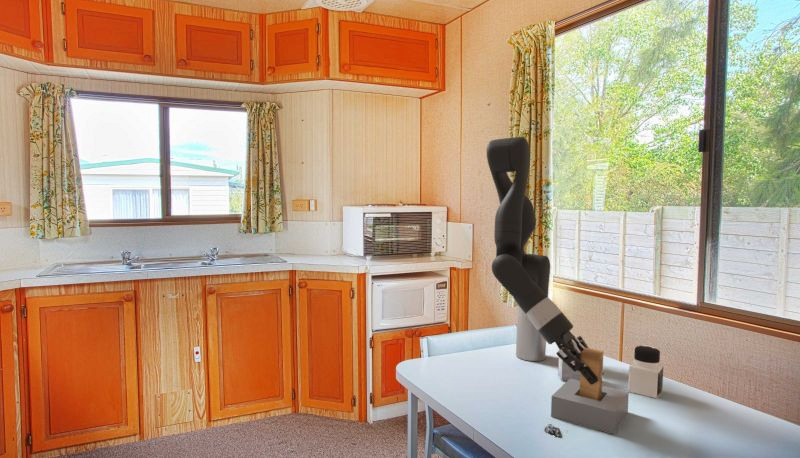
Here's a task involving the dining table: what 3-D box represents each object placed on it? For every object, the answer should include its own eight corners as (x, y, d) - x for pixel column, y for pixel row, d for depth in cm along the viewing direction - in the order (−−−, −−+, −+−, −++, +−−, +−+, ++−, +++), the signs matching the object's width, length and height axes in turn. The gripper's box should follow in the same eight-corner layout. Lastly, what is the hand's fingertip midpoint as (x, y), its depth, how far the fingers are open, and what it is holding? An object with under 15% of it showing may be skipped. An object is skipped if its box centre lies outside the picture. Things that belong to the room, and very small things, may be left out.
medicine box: (585, 376, 141) (587, 347, 140) (590, 382, 136) (591, 352, 136) (557, 375, 142) (558, 346, 141) (561, 381, 137) (562, 351, 137)
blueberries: (558, 425, 112) (558, 417, 112) (580, 440, 104) (580, 431, 104) (532, 429, 110) (532, 421, 110) (552, 444, 102) (552, 435, 102)
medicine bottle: (657, 399, 126) (659, 353, 125) (627, 392, 130) (629, 347, 129) (662, 390, 131) (664, 347, 131) (633, 384, 136) (635, 341, 135)
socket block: (569, 397, 126) (570, 378, 126) (627, 412, 118) (628, 391, 117) (550, 416, 115) (551, 395, 114) (614, 434, 106) (615, 412, 106)
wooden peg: (583, 396, 119) (586, 347, 118) (601, 400, 116) (603, 351, 115) (579, 401, 115) (581, 351, 115) (596, 405, 113) (599, 355, 112)
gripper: (550, 316, 113) (602, 380, 107) (569, 306, 125) (617, 363, 119) (527, 335, 117) (577, 397, 111) (547, 323, 128) (593, 379, 122)
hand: (597, 379), depth 115 cm, fingers closed on wooden peg, 4 cm apart
